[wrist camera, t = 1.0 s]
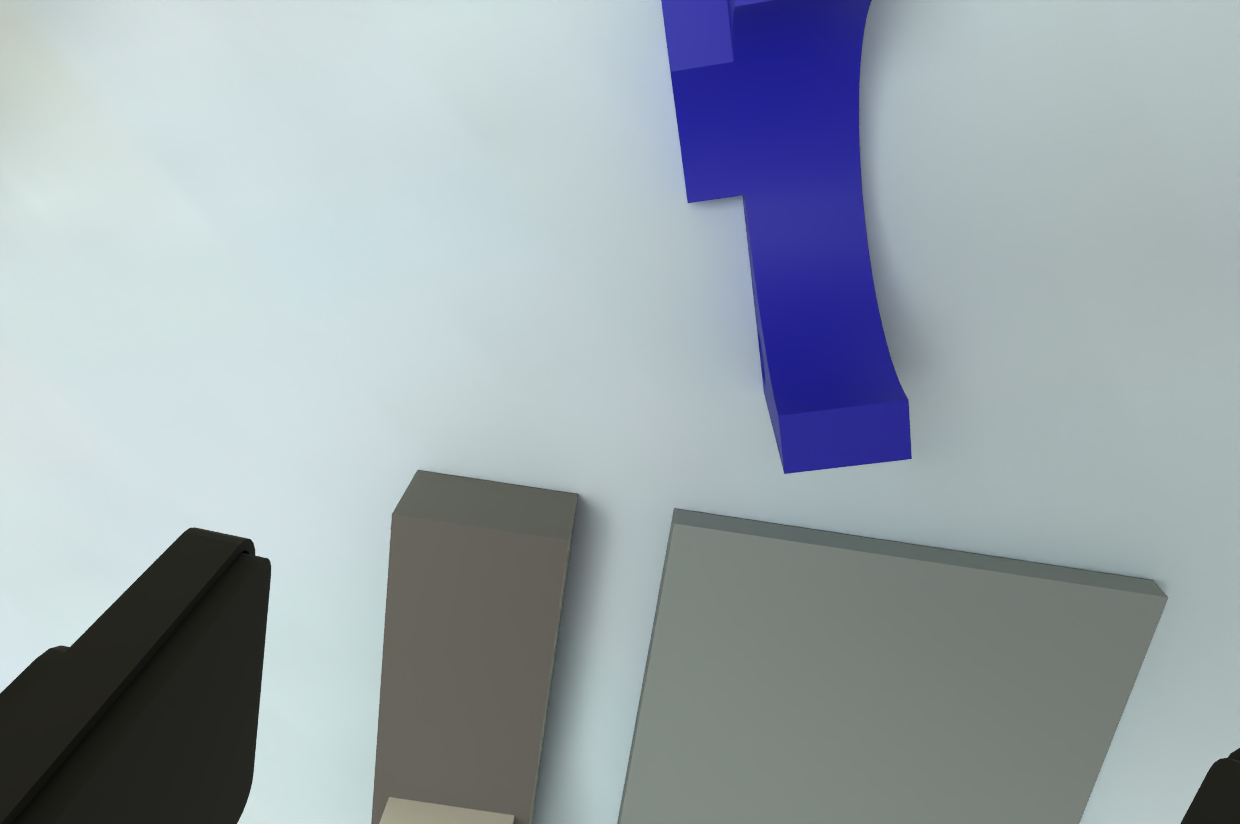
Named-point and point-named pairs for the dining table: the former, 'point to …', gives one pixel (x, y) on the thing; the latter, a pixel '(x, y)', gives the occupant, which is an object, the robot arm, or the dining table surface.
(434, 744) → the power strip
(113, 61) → the dining table surface
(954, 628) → the slate mat
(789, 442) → the blue curved block
